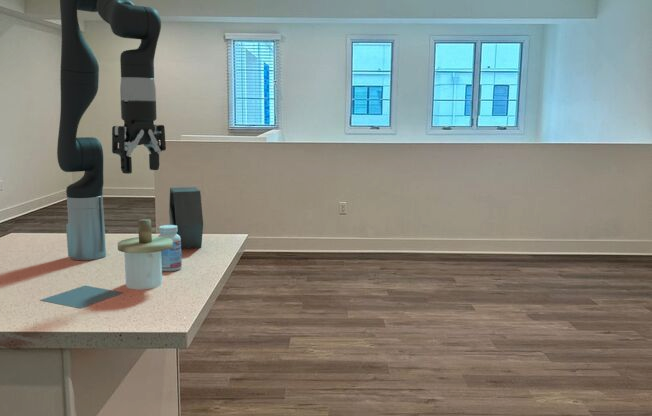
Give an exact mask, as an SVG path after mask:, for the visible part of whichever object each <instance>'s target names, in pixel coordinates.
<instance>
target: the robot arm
mask: <svg viewBox="0 0 652 416" xmlns="http://www.w3.org/2000/svg"><path fill="white" fill-rule="evenodd" d="M59 7H60V8H59V10H60V22H61V23H60V24H61V26H60V29H61V47H60V49H61V52H60V56H61V57H60V76H59V77H60V79H59V80H60V81H59V82H60V83H59V84H60V115H59V127H58V135H57V148H56V150H57V151H56V157H57V163H58V166H59V168H60V170H62V171H63V172H66V173H75V172H76V173H79V172H84V174H83V176H82V177H81V178H80V179H79V180H77V181H76V182H73V183H70V184H68V186H66V190H65V192H66V193H65V194H66V204H67V207H66V208H67V220H68V222H66V224H65V227H66V246H67V257H68V258H70V259H72V260H75V261H91V260H97V259H102V258H104V257H106V256H107V250H106V249H107V248H106V233H105V231H106V228H105V211H104V198H103V196H104V194H103V189H104V183H105V182H104V150H103V146H102V143H101V141H100V140H99V139H98V138H97V137H93V136H91V137H90V136H89V137H88V136H87V137H77V134H78V129H79V125H80V122H81V119H82V117H83V116H84V114H85V112H87V110H88V109H89V107H90V105H91V103H93V101H94V99H95V97H96V96H97V94H98V91H99V83H100V82H99V81H100V80H99V77H100V76H99V75H100V74H99V73H100V67H99V63H98V59H97V57H96V56H95V53H94V52H93V51H92V49H91V48H90V46H89V44H88V42H87V41H86V39H85V37H84V34H83V32H82V30H81V27H80V24H79V19H78V11H82V12H83V11H84V12H89V13H97V14H98V15H99V17H100V18H101V19H102V20H103V21H104V22H105V23H107V24H109V26H110V29H111V32H112V34H113V35H115V36H117V37H120V38H122V39H130V40H131V39H133V40H140V43H139V46H138V48H134V49H126V50H123V51H122V52H121V54H120V58H119V59H120V60H119V61H120V64H119V65H120V87H119V88H120V89H119V91H120V95H119V96H120V115H121V120H122V121H123V122H124V125H113V126H112V128H111V129H112V130H111V136H112V137H111V139H112V140H111V152H112V154H114V155H118V156H119V157H120V170H121V173H123V174H126V175H129V174H132V172H133V167H132V165H133V164H132V155H131V154H132V153H133V151H134V150H135V149H136V148H137V147H138V146H142V145H143V146H144V147H146V149H147V151H148V152H149V154H148V164H149V170H150V171H158V170H159V169H160V154H161V152H163V151H166V150H167V145H166V131H165V125H163V124H154V122H155V121H156V120H157V90H156V88H157V87H156V84H155V60H154V59H155V55H156V50H157V45H158V41H159V37H160V34H161V31H162V30H161V29H162V20H161V17H160V15H159V13H158V11H157V10H156V9H155V8H153V7H150V6H142V5H135V3H133V2H132V1H131V0H59Z"/></svg>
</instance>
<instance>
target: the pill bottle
mask: <svg viewBox="0 0 652 416" xmlns="http://www.w3.org/2000/svg"><path fill="white" fill-rule="evenodd" d="M177 231H178V229H177V226H176V225H170V224H164V225H160V226H158V232H159V235H158V236H157V237H166V238H170V239H172V240H173V247H172V248H170V249H167V250H164V251H161V260H162V272H174V271H176V272H177V271H179V270H181V268H182V267H183V265H182V264H183V263H182V262H183V261H182V249H181V238H180V236H179V235H178V234H177Z"/></svg>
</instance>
